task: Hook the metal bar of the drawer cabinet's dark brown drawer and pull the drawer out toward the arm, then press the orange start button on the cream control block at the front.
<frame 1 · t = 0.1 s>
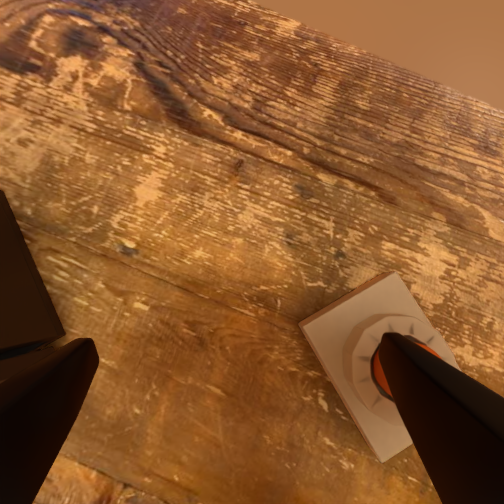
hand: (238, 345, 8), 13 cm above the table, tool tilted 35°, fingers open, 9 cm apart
start button: (408, 371, 16), point 4 cm above the table, slide at 0.1 cm
control block: (375, 355, 20), on the table
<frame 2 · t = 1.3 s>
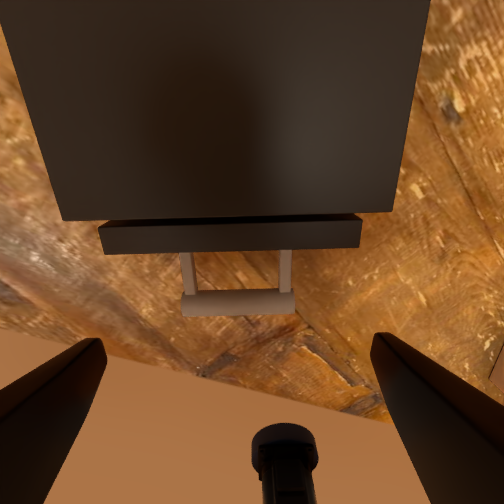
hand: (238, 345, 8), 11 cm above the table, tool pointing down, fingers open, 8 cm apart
drawer cabinet: (231, 55, 15), on the table
dark brown drawer: (231, 146, 12), point 4 cm above the table, slide at 0.5 cm
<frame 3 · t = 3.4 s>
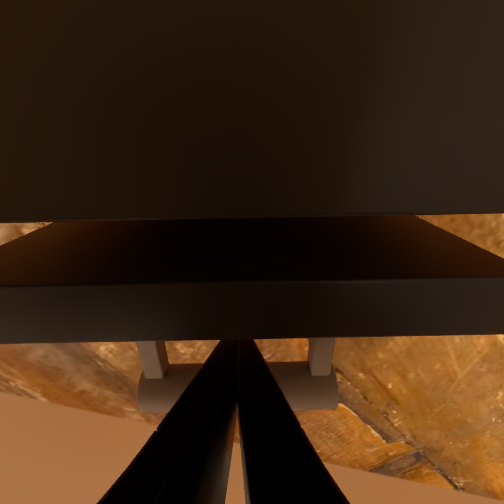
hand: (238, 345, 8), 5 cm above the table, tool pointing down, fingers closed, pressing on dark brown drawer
dark brown drawer: (227, 111, 6), point 4 cm above the table, slide at 1.3 cm, touching gripper
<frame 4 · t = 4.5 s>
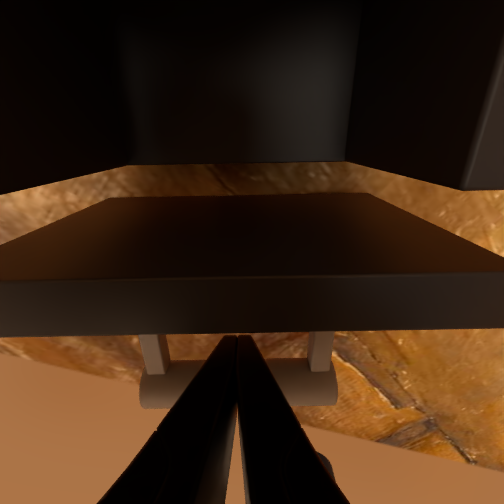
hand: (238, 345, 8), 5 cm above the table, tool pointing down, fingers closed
dark brown drawer: (229, 111, 6), point 4 cm above the table, slide at 4.6 cm
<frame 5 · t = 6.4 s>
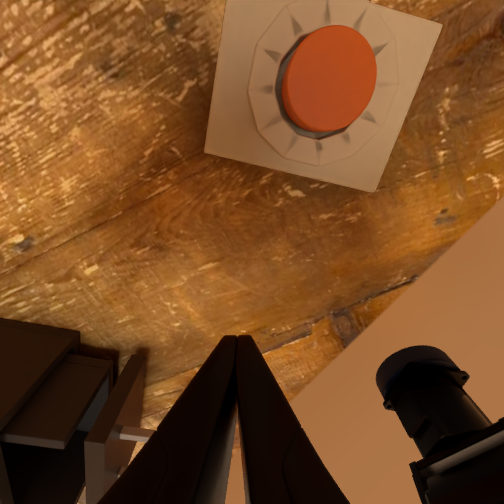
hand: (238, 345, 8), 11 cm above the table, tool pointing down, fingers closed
start button: (325, 85, 11), point 4 cm above the table, slide at 0.1 cm
control block: (305, 99, 15), on the table
drawer cabinet: (2, 368, 24), on the table
dark brown drawer: (74, 431, 20), point 4 cm above the table, slide at 4.6 cm
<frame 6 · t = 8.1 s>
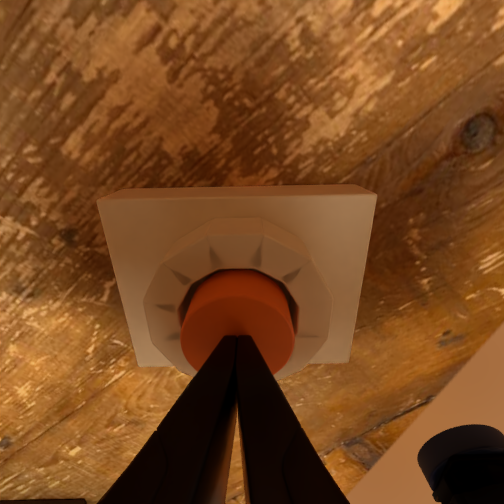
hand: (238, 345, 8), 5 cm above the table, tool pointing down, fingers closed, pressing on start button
start button: (238, 326, 9), point 4 cm above the table, slide at -0.1 cm, touching gripper
control block: (241, 269, 13), on the table
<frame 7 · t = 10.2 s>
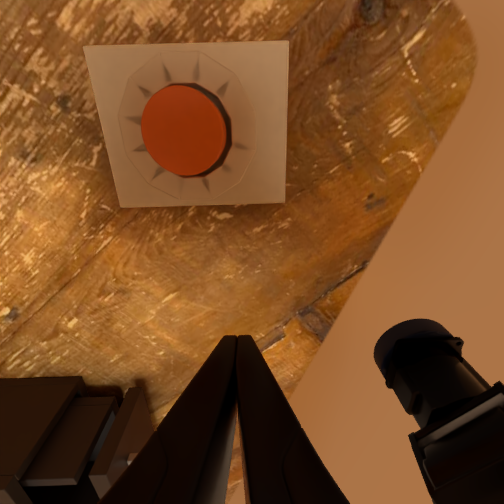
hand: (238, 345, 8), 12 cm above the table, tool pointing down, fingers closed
start button: (186, 133, 12), point 4 cm above the table, slide at 0.1 cm
control block: (201, 133, 16), on the table
drawer cabinet: (30, 419, 27), on the table
dark brown drawer: (94, 464, 23), point 4 cm above the table, slide at 4.6 cm
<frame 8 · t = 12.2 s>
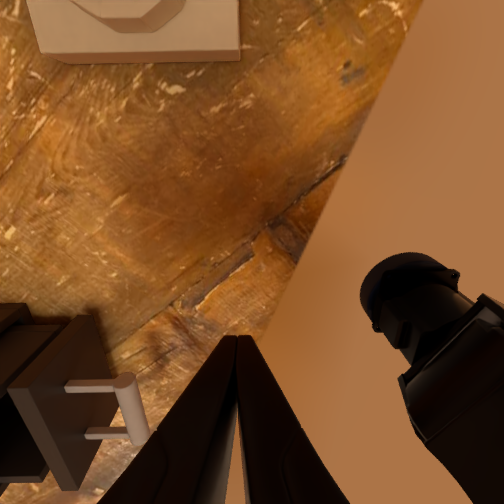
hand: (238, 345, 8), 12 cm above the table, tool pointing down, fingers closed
dark brown drawer: (34, 399, 20), point 4 cm above the table, slide at 4.6 cm
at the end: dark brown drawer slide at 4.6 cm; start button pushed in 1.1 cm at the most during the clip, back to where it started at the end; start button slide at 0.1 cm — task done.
